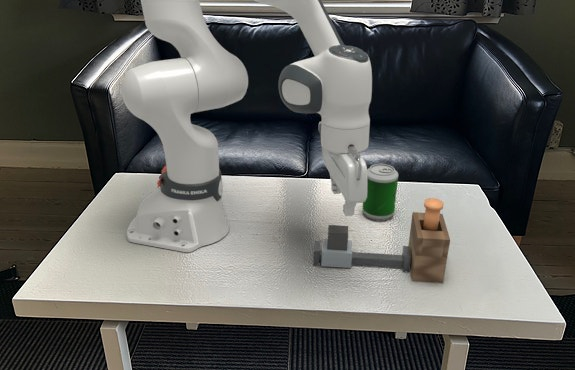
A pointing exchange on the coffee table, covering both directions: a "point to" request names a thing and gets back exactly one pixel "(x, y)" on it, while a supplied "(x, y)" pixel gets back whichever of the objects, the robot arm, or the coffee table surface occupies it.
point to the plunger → (432, 214)
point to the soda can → (380, 192)
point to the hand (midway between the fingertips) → (342, 203)
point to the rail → (372, 259)
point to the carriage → (337, 247)
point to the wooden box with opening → (428, 250)
